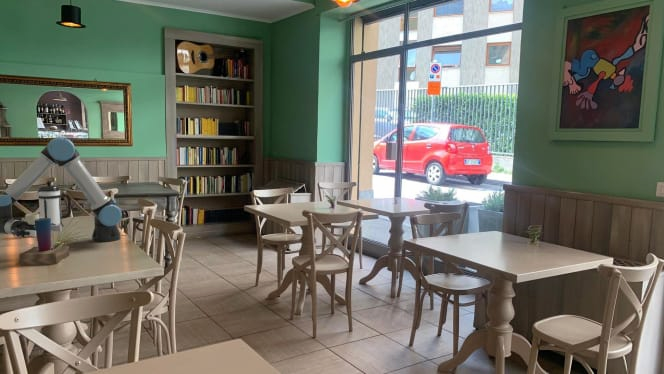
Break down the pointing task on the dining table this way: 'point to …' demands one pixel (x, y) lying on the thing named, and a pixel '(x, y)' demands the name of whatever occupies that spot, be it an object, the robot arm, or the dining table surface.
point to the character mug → (31, 218)
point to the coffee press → (52, 203)
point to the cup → (43, 233)
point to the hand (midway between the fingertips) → (48, 231)
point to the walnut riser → (43, 256)
